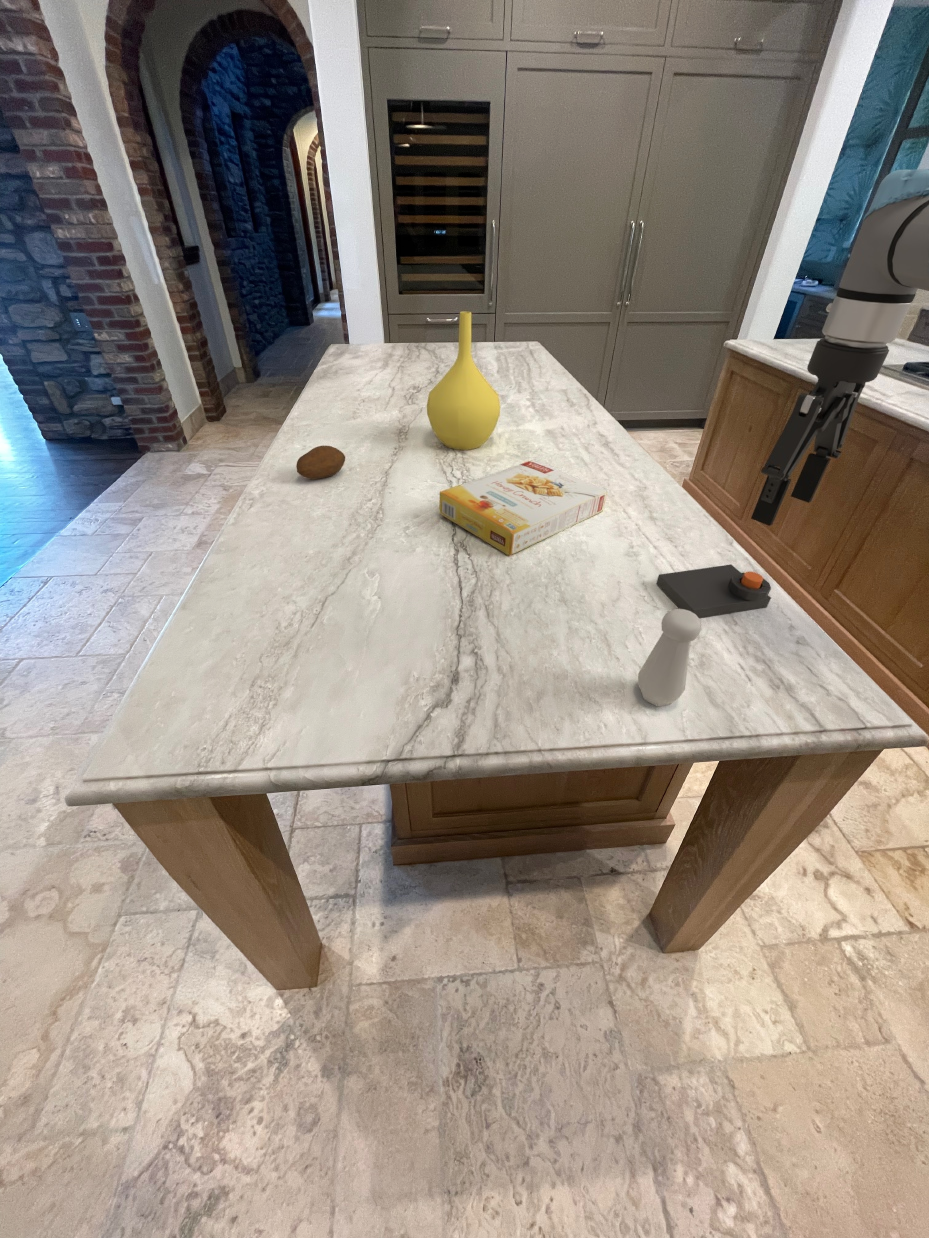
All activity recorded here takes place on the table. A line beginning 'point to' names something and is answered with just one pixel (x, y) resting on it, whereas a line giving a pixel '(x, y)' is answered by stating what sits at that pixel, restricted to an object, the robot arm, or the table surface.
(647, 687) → the salt shaker
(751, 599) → the scale
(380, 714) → the table surface
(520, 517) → the cereal box
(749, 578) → the button
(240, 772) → the table surface
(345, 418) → the table surface
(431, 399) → the vase
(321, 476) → the potato
